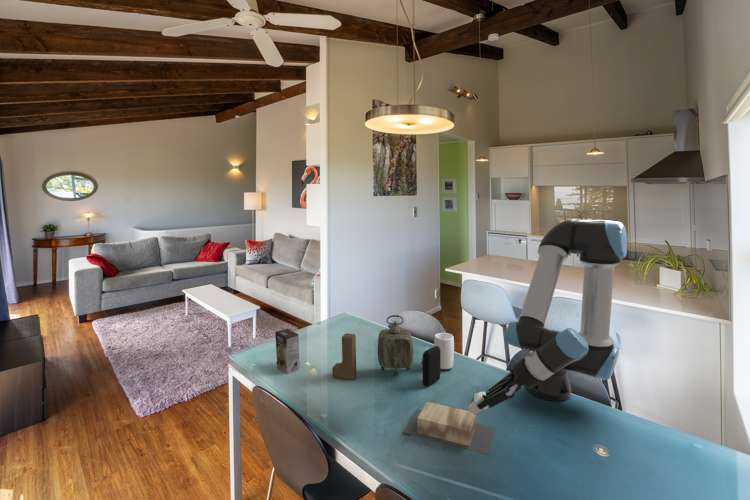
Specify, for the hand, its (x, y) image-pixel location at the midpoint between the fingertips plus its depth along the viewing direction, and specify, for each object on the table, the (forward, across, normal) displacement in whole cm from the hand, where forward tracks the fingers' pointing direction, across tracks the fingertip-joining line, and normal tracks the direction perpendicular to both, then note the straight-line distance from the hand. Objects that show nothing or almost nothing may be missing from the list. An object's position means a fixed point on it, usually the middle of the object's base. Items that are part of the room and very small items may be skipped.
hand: (471, 410), depth 117 cm
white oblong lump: (+7, -21, +6) cm, 23 cm away
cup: (+21, -42, -8) cm, 48 cm away
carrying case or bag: (+22, -26, -9) cm, 35 cm away
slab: (+4, 0, +4) cm, 6 cm away
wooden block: (+45, -17, -33) cm, 59 cm away
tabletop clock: (+33, -29, -20) cm, 48 cm away
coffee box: (+64, -14, -51) cm, 83 cm away
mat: (+11, 0, +1) cm, 11 cm away
